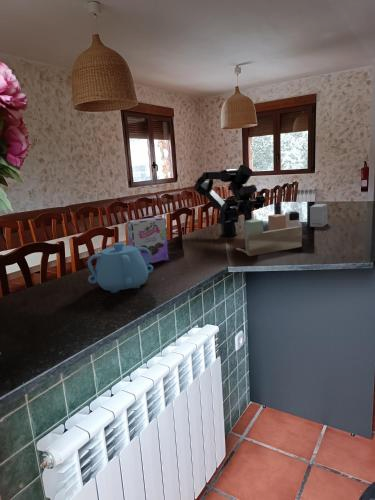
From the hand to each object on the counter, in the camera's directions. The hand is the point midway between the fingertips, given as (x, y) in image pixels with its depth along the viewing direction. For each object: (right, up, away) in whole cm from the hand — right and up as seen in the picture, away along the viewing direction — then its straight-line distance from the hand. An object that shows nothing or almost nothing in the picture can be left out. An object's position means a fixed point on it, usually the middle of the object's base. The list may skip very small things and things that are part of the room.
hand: (250, 218), depth 150 cm
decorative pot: (-47, -25, -42) cm, 68 cm away
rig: (+5, -13, -9) cm, 16 cm away
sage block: (-1, -14, -13) cm, 19 cm away
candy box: (-41, -18, -16) cm, 48 cm away
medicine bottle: (+19, -9, +5) cm, 21 cm away
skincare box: (+41, -1, +32) cm, 52 cm away
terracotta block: (+10, -11, -4) cm, 15 cm away
